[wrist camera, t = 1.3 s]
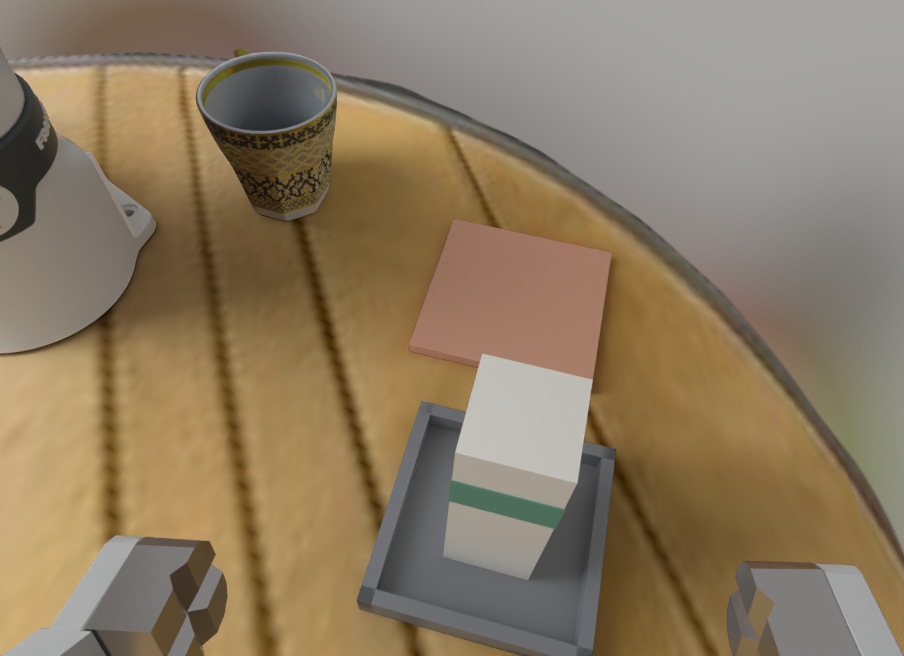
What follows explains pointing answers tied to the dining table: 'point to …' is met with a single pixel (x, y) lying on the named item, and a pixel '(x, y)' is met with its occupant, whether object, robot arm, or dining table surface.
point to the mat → (514, 301)
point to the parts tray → (478, 589)
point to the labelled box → (514, 464)
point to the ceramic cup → (273, 128)
